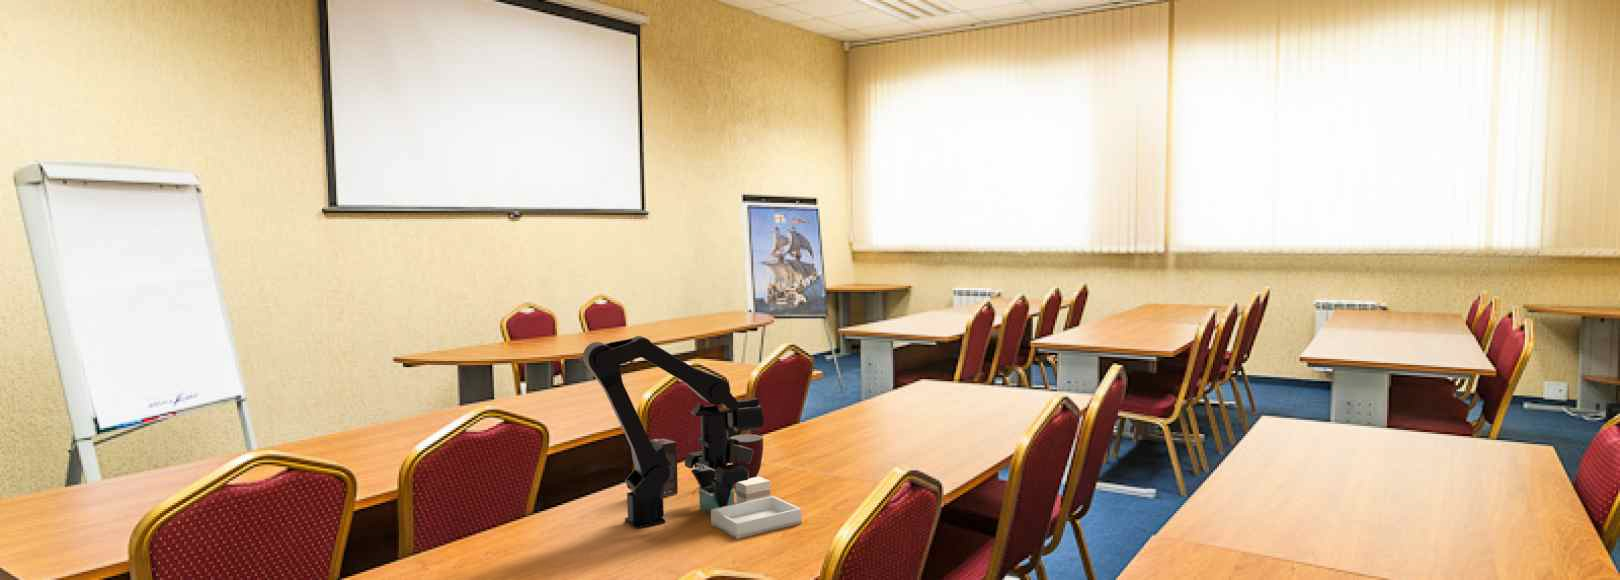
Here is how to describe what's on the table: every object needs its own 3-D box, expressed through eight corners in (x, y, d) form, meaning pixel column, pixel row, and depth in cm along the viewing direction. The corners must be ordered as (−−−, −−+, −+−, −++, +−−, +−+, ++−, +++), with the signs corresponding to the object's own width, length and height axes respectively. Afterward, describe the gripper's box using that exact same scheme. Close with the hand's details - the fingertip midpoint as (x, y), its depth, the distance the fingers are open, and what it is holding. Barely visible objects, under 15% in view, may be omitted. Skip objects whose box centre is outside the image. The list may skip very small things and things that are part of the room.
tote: (737, 538, 172) (736, 523, 172) (711, 523, 181) (710, 509, 181) (801, 523, 180) (801, 508, 180) (773, 509, 189) (773, 496, 189)
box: (679, 493, 203) (677, 441, 202) (662, 497, 200) (660, 444, 199) (666, 487, 208) (664, 437, 207) (648, 491, 205) (647, 440, 204)
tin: (711, 516, 186) (710, 493, 185) (699, 510, 190) (698, 487, 190) (735, 511, 189) (734, 488, 189) (722, 505, 194) (721, 482, 193)
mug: (756, 487, 207) (755, 444, 206) (723, 485, 208) (722, 444, 207) (767, 474, 217) (766, 434, 216) (735, 473, 218) (734, 433, 218)
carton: (746, 508, 191) (745, 485, 191) (736, 503, 195) (735, 481, 195) (770, 503, 194) (769, 480, 194) (760, 498, 198) (759, 476, 198)
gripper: (769, 436, 185) (771, 509, 186) (727, 421, 201) (729, 489, 202) (722, 444, 179) (724, 520, 180) (682, 428, 195) (684, 498, 196)
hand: (716, 505), depth 190 cm, fingers closed on tin, 5 cm apart
